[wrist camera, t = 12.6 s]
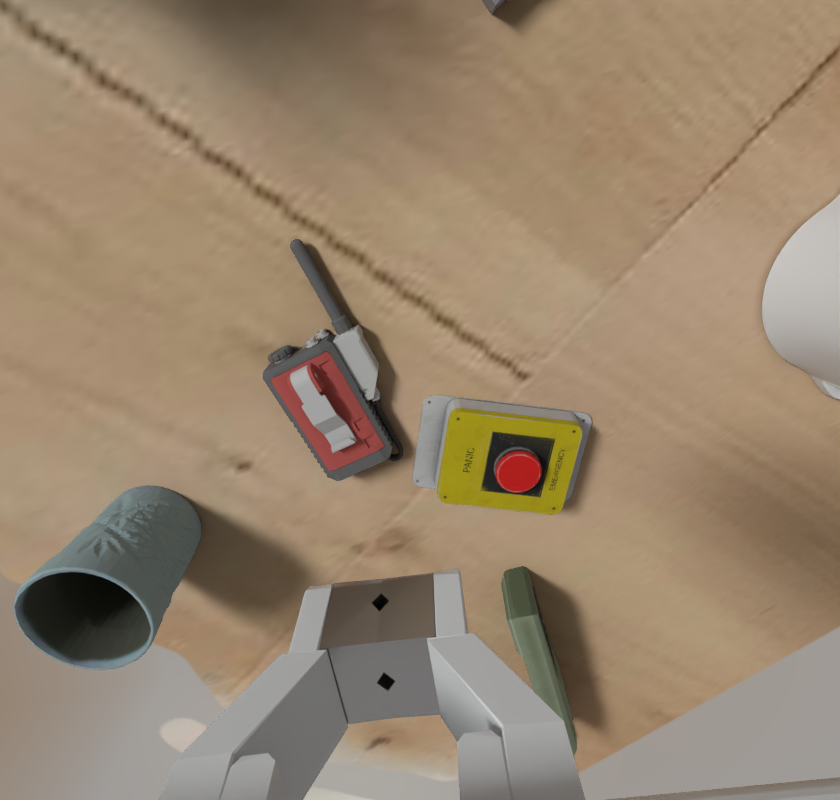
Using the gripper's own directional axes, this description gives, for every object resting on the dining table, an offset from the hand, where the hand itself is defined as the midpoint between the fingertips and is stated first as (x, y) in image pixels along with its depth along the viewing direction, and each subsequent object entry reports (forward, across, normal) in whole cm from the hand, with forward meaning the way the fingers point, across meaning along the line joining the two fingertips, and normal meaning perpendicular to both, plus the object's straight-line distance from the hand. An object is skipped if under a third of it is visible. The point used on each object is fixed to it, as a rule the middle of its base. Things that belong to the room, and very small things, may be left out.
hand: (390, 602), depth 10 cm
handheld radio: (+34, -8, +42) cm, 55 cm away
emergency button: (+35, -6, +16) cm, 39 cm away
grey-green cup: (+34, +27, +19) cm, 48 cm away
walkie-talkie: (+35, +8, +6) cm, 36 cm away
